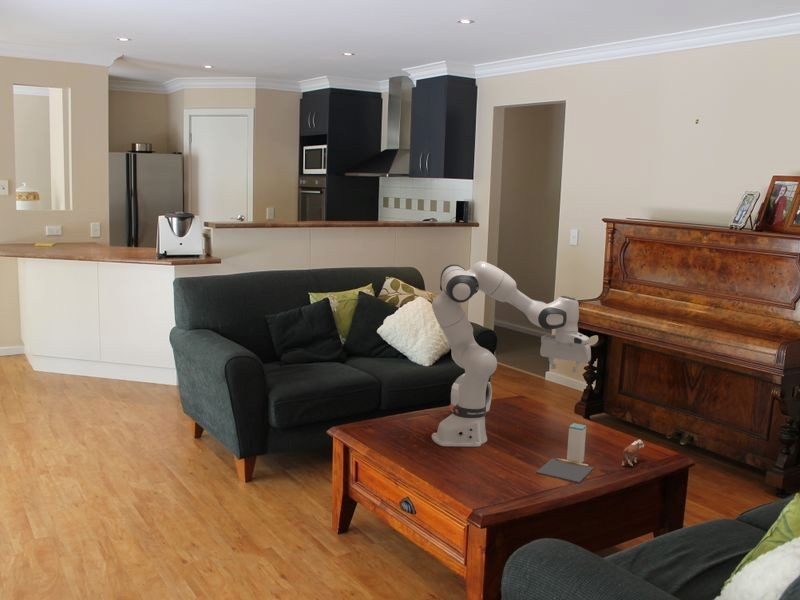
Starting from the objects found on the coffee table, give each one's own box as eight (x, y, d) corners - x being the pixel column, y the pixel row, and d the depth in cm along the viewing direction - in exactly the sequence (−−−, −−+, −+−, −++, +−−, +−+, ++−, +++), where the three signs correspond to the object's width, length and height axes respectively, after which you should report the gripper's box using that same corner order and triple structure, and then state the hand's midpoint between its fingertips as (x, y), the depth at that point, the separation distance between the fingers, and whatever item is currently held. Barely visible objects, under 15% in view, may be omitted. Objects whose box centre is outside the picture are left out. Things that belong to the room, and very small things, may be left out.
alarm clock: (458, 421, 336) (460, 376, 333) (448, 416, 343) (450, 371, 340) (492, 416, 345) (494, 372, 342) (481, 411, 352) (483, 368, 349)
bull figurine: (645, 460, 296) (646, 439, 295) (628, 468, 287) (630, 447, 285) (634, 457, 299) (636, 437, 298) (617, 465, 290) (619, 444, 288)
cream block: (566, 462, 291) (569, 426, 289) (570, 458, 296) (573, 423, 293) (579, 465, 289) (582, 429, 287) (583, 461, 293) (586, 425, 291)
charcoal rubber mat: (536, 473, 279) (536, 471, 279) (552, 459, 293) (552, 458, 293) (579, 483, 271) (579, 481, 271) (593, 468, 285) (593, 467, 285)
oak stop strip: (556, 461, 291) (556, 459, 291) (557, 460, 293) (557, 457, 293) (587, 468, 285) (587, 465, 285) (588, 467, 287) (588, 464, 287)
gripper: (538, 334, 311) (536, 367, 313) (588, 341, 301) (586, 375, 303) (544, 332, 317) (542, 364, 319) (593, 338, 306) (591, 372, 308)
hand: (564, 370), depth 311 cm, fingers open, 8 cm apart
